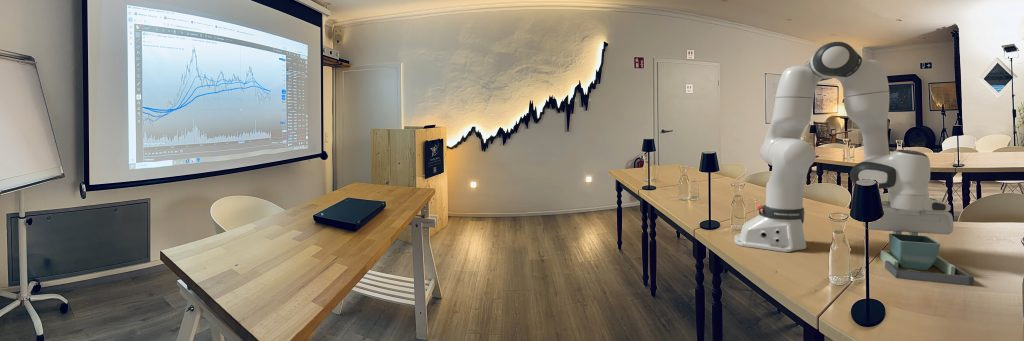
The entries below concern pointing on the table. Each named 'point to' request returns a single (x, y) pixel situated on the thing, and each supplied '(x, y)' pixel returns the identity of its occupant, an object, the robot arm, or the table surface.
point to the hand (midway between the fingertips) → (904, 245)
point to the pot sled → (938, 263)
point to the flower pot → (913, 251)
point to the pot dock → (931, 275)
